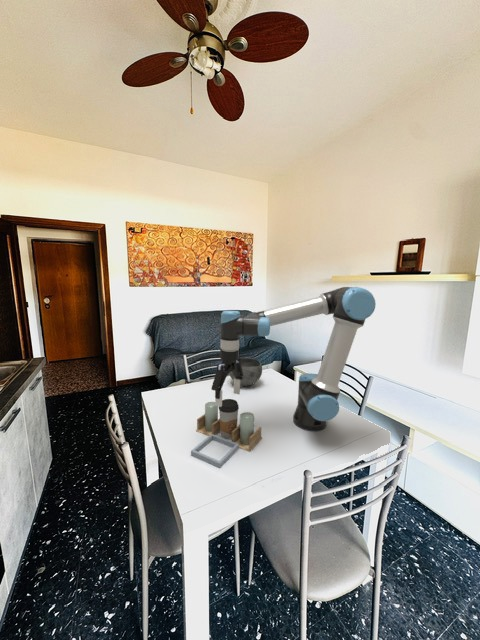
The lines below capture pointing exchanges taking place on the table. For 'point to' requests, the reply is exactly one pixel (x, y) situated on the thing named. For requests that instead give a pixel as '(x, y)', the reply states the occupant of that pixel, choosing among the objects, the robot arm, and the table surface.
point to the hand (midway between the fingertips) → (228, 399)
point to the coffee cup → (228, 417)
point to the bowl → (249, 371)
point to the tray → (213, 461)
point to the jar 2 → (246, 427)
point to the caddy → (235, 433)
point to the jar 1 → (210, 415)
